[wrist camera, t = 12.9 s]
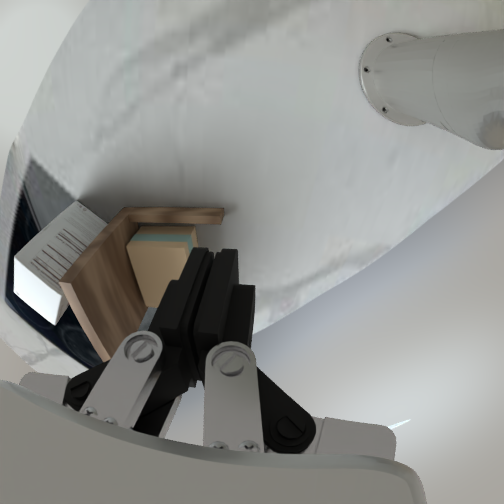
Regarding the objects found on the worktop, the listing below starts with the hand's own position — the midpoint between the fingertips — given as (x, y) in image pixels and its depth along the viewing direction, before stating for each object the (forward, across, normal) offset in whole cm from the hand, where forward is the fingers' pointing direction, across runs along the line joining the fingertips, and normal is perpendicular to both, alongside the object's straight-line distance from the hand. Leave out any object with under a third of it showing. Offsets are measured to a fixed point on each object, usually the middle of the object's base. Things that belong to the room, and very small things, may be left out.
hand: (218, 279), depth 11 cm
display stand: (+27, +13, +19) cm, 36 cm away
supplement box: (+27, +30, +15) cm, 43 cm away
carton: (+27, +14, +20) cm, 36 cm away
